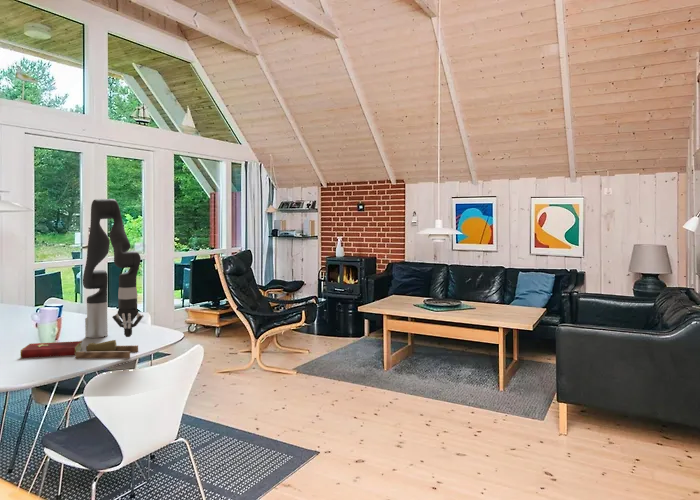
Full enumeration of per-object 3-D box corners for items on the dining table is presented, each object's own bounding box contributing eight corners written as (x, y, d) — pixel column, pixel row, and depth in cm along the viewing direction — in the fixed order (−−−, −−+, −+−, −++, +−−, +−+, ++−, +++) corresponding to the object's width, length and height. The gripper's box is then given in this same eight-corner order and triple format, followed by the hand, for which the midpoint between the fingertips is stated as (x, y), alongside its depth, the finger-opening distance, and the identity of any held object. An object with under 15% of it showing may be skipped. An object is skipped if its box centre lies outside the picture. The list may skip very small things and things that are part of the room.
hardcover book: (76, 356, 218) (75, 346, 218) (20, 359, 212) (20, 349, 212) (82, 349, 230) (82, 340, 230) (30, 352, 224) (29, 342, 224)
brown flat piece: (75, 358, 214) (75, 352, 214) (87, 351, 225) (87, 345, 225) (129, 357, 215) (129, 351, 215) (138, 350, 227) (138, 345, 227)
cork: (116, 355, 223) (88, 357, 220) (116, 341, 226) (89, 344, 223) (113, 351, 218) (85, 354, 215) (113, 338, 220) (86, 340, 218)
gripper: (108, 298, 215) (109, 338, 216) (140, 298, 216) (140, 338, 217) (115, 295, 223) (116, 334, 224) (146, 296, 224) (146, 334, 225)
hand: (128, 336), depth 220 cm, fingers closed
